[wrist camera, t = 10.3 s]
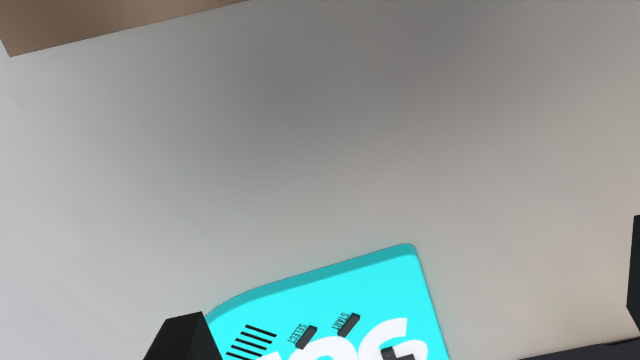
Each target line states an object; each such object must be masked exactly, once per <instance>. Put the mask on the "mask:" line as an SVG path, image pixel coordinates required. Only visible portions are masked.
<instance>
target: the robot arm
mask: <svg viewBox="0 0 640 360" xmlns="http://www.w3.org/2000/svg"><path fill="white" fill-rule="evenodd" d="M626 307H627V309H628V311H629V313H630V315H631V316H632V318H633V320H634V322H635V324H636V326H637V328H638V329H639V331H640V215H636V216H634V221H633V233H632V245H631V257H630V269H629V281H628V293H627V305H626ZM143 360H223V359H222V356H221V354H220V352H219V349H218V347H217V345H216V343H215V340H214V338H213V336H212V334H211V331H210V329H209V327H208V325H207V322H206V320H205V318H204V316H203V313H202V311H201V312H196V313H192V314H187V315H183V316H178V317H174V318H169V319H166V320H165V322H164V323H163V325H162V327H161V328H160V330H159V332H158V334H157V335H156V337H155V339H154V341H153V343H152V345H151V346H150V348H149V350H148V352H147V354H146V355H145V357H144V359H143Z"/></svg>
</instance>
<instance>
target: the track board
mask: <svg viewBox="0 0 640 360" xmlns="http://www.w3.org/2000/svg"><path fill="white" fill-rule="evenodd" d="M244 1H248V0H0V39H1V41H2V43H3V45H4V47H5V49H6V51H7V53H8V54H9V56H10V57H13V56H17V55H21V54H25V53H30V52H34V51H38V50H42V49H46V48H51V47H55V46H59V45H63V44H67V43H72V42H76V41H80V40H84V39H88V38H93V37H97V36H101V35H105V34H109V33H114V32H118V31H122V30H126V29H130V28H135V27H139V26H143V25H147V24H151V23H156V22H160V21H164V20H168V19H172V18H177V17H181V16H185V15H189V14H193V13H198V12H202V11H206V10H210V9H214V8H219V7H223V6H227V5H231V4H235V3H240V2H244Z"/></svg>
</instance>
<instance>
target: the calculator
mask: <svg viewBox="0 0 640 360" xmlns="http://www.w3.org/2000/svg"><path fill="white" fill-rule="evenodd" d="M520 360H640V339H638V340H634V341H630V342H626V343H622V344H617V345H605V344H596V345H590V346H585V347H580V348H575V349H570V350H565V351H560V352H555V353H550V354H545V355H540V356H535V357H529V358H524V359H520Z"/></svg>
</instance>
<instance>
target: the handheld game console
mask: <svg viewBox="0 0 640 360" xmlns="http://www.w3.org/2000/svg"><path fill="white" fill-rule="evenodd" d="M205 320H206V322H207V325H208V327H209V329H210V331H211V334H212V336H213V338H214V340H215V343H216V345H217V347H218V349H219V352H220V354H221V356H222V359H223V360H449V356H448V353H447V350H446V347H445V344H444V340H443V337H442V334H441V331H440V327H439V324H438V321H437V318H436V314H435V311H434V308H433V305H432V301H431V298H430V295H429V292H428V289H427V285H426V282H425V279H424V276H423V272H422V269H421V266H420V263H419V259H418V256H417V253H416V250H415V248H414V246H412V245H410V244H401V245H398V246H394V247H391V248H388V249H384V250H381V251H378V252H374V253H371V254H368V255H364V256H361V257H358V258H354V259H351V260H348V261H344V262H341V263H338V264H334V265H331V266H328V267H324V268H321V269H318V270H314V271H311V272H308V273H304V274H301V275H298V276H294V277H291V278H288V279H284V280H281V281H278V282H274V283H271V284H268V285H264V286H262V287H259V288H256V289H253V290H250V291H247V292H245V293H243V294H241V295H239V296H236V297H234V298H232V299H230V300H228V301H227V302H225V303H223V304H222V305H220V306H218V307H217V308H216V309H214V310H213V311H212V312H211V313H210V314H208V315H207V316H206V317H205Z"/></svg>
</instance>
